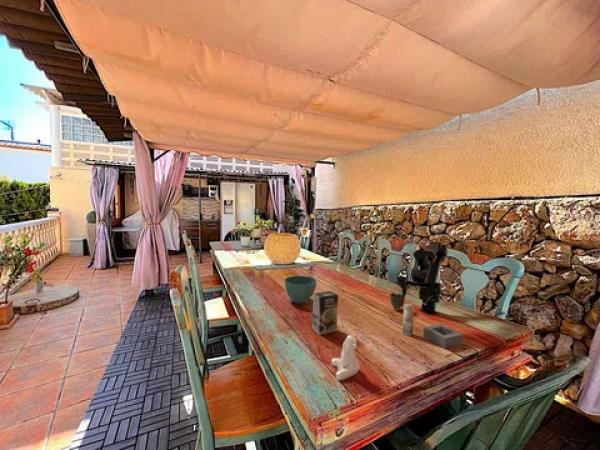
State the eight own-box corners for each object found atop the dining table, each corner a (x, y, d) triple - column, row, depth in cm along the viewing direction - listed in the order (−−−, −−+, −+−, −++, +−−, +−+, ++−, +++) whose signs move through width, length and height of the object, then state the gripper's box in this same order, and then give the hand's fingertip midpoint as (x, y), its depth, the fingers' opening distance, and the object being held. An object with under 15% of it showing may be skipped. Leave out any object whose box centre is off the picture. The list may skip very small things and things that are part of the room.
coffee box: (319, 335, 108) (320, 297, 107) (311, 329, 113) (312, 292, 113) (337, 331, 112) (338, 294, 111) (329, 325, 118) (330, 290, 117)
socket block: (440, 332, 113) (440, 323, 112) (462, 343, 104) (462, 334, 103) (423, 336, 109) (423, 327, 109) (444, 348, 100) (445, 338, 99)
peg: (407, 331, 114) (409, 303, 113) (414, 335, 110) (416, 306, 109) (400, 332, 112) (401, 304, 112) (407, 336, 109) (409, 307, 108)
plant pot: (321, 299, 151) (322, 279, 150) (305, 309, 136) (306, 286, 135) (295, 293, 161) (296, 274, 160) (277, 302, 145) (278, 280, 145)
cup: (403, 308, 141) (404, 293, 140) (404, 313, 134) (405, 297, 133) (389, 306, 143) (390, 292, 143) (389, 311, 136) (390, 296, 136)
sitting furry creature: (330, 363, 88) (331, 328, 88) (354, 362, 89) (356, 328, 89) (336, 381, 79) (338, 343, 78) (364, 380, 80) (365, 342, 79)
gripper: (398, 259, 125) (388, 286, 117) (441, 265, 113) (434, 295, 105) (403, 272, 131) (394, 299, 123) (444, 279, 119) (437, 309, 111)
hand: (413, 300), depth 115 cm, fingers open, 9 cm apart
